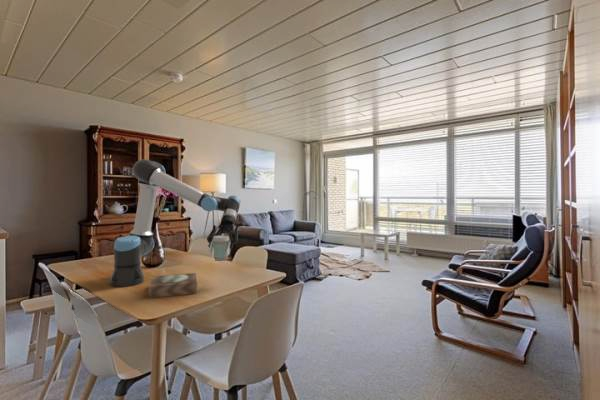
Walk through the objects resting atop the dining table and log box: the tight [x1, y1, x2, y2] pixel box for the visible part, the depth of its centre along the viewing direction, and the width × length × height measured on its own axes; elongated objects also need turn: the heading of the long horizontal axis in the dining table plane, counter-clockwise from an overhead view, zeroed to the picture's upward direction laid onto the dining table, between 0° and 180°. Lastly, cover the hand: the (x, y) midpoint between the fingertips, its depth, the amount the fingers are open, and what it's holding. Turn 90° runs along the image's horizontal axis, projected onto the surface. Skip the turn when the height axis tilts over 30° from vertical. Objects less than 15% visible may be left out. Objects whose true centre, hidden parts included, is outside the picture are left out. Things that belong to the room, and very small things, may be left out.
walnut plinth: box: [148, 272, 198, 299], centre depth 143 cm, size 20×18×5 cm
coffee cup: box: [212, 235, 230, 262], centre depth 151 cm, size 8×9×12 cm
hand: (218, 253), depth 148 cm, fingers closed on coffee cup, 8 cm apart
